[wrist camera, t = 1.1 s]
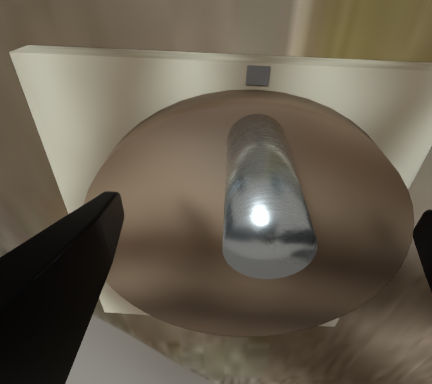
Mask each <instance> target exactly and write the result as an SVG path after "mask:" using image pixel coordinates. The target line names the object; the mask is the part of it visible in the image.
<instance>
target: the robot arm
mask: <svg viewBox="0 0 432 384" xmlns="http://www.w3.org/2000/svg"><path fill="white" fill-rule="evenodd" d="M123 222H124V209H123V204H122V200H121V195H120V193H118V192H114V191H105V192H103V193H101V194H100V195H98V196H96V197H95V198H93V199H92V200H90V201H89V202H87V203H85V204H84V205H82V206H81V207H79V208H78V209H76V210H74V211H73V212H71V213H70V214H68V215H67V216H65V217H63V218H62V219H60V220H59V221H57V222H56V223H54V224H52V225H51V226H49V227H48V228H46V229H45V230H43V231H41V232H40V233H38V234H37V235H35V236H34V237H32V238H30V239H29V240H27V241H26V242H24V243H22V244H21V245H19V246H18V247H16V248H15V249H13V250H11V251H10V252H8V253H7V254H5V255H4V256H2V257H0V384H65V382H66V380H67V378H68V375H69V372H70V370H71V367H72V365H73V362H74V360H75V357H76V355H77V352H78V350H79V347H80V345H81V342H82V340H83V337H84V334H85V332H86V330H87V327H88V325H89V322H90V319H91V317H92V314H93V312H94V309H95V307H96V304H97V302H98V299H99V297H100V294H101V292H102V289H103V287H104V284H105V282H106V279H107V276H108V274H109V271H110V269H111V266H112V263H113V260H114V256H115V252H116V248H117V245H118V241H119V237H120V233H121V229H122V226H123ZM413 239H414V242H415V245H416V248H417V251H418V254H419V257H420V260H421V264H422V267H423V270H424V273H425V276H426V279H427V281H428V284H429V287H430V289H431V291H432V210H427V211H425V212H424V213H423V215H422V216H421V218H420V220H419V221H418V223H417V225H416V226H415V228H414V230H413Z"/></svg>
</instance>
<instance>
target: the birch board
mask: <svg viewBox="0 0 432 384" xmlns="http://www.w3.org/2000/svg"><path fill="white" fill-rule="evenodd" d="M9 53H10V56H11V59H12V61H13V64H14V67H15V69H16V72H17V75H18V78H19V80H20V83H21V86H22V88H23V91H24V94H25V97H26V99H27V102H28V105H29V108H30V110H31V113H32V116H33V118H34V121H35V124H36V127H37V129H38V132H39V135H40V137H41V140H42V143H43V146H44V148H45V151H46V154H47V157H48V159H49V162H50V165H51V167H52V170H53V173H54V176H55V178H56V181H57V184H58V186H59V189H60V192H61V195H62V197H63V200H64V203H65V206H66V208H67V211H68V214H70V213H71V212H73V211H74V210H76V209H78V208H79V207H81V206H82V205H83V204H84V201H85V198H86V195H87V192H88V189H89V187H90V185H91V183H92V182H93V180H94V178H95V176H96V174H97V173H98V171H99V170H100V168H101V167H102V165H103V164H104V162H105V161H106V159H107V158H108V156H109V155H110V153H111V152H112V150H113V149H114V148H115V147H116V146H117V144H118V143H119V142H120V141H121V139H122V138H123V137H124V136H125V135H126V134H127V133H128V132H130V131H131V130H132V129H133V128H134V127H135V126H136V125H138V124H139V123H140V122H142V121H143V120H145V119H146V118H148V117H149V116H151V115H153V114H154V113H156V112H157V111H159V110H161V109H164V108H166V107H168V106H170V105H172V104H175V103H177V102H179V101H182V100H185V99H189V98H192V97H196V96H199V95H203V94H207V93H214V92H221V91H227V90H266V91H274V92H283V93H287V94H291V95H295V96H299V97H303V98H307V99H310V100H312V101H315V102H317V103H320V104H322V105H325V106H327V107H329V108H332V109H333V110H335V111H337V112H338V113H340V114H342V115H343V116H345V117H347V118H348V119H350V120H351V121H353V122H354V123H355V124H356V125H357V126H359V127H360V128H361V129H362V130H363V131H364V132H366V133H367V134H368V135H369V136H370V138H371V139H372V140H373V141H374V142H375V144H376V145H377V146H378V147H379V148H380V150H381V151H382V152H383V153H384V155H385V156H386V157H387V158H388V160H389V161H390V162H391V163H392V165H393V166H394V167H395V168H396V170H397V171H398V172H399V174H400V176H401V178H402V179H403V181H404V183H405V185H406V187H407V189H409V187H410V185H411V183H412V182H413V180H414V178H415V176H416V174H417V172H418V170H419V169H420V167H421V165H422V163H423V161H424V159H425V157H426V155H427V154H428V152H429V150H430V148H431V146H432V63H425V62H402V61H379V60H357V59H334V58H311V57H288V56H266V55H243V54H220V53H197V52H174V51H152V50H129V49H106V48H83V47H61V46H38V45H27V46H24V47H22V48H19V49H16V50H14V51H11V52H9ZM99 298H100V301H101V304H102V306H103V309H104V312H110V313H125V314H141V315H149V314H147V313H145V312H143V311H142V310H140V309H138V308H137V307H135V306H133V305H132V304H130V303H129V302H128V301H126V300H125V299H124V298H122V297H121V296H120V295H119V294H118V293H116V292H115V291H114V290H113V289H112V288H111V287H110V286H109V285H108V284H107V283H106V282H105V284H104V287H103V289H102V292H101V294H100V297H99ZM339 318H340V317H339ZM339 318H337V319H335V320H332V321H330V322H327V323H325V324H322V325H319V326H329V327H335V326H336V324H337V322H338V320H339Z"/></svg>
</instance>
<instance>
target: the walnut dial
mask: <svg viewBox="0 0 432 384" xmlns="http://www.w3.org/2000/svg"><path fill="white" fill-rule="evenodd" d="M105 191H114V192H118V193H120V195H121V200H122V204H123V209H124V222H123V226H122V229H121V233H120V237H119V241H118V245H117V248H116V252H115V256H114V260H113V263H112V266H111V269H110V271H109V274H108V276H107V279H106V283H107V284H108V285H109V286H110V287H111V288H112V289H113V290H114V291H115V292H116V293H118V294H119V295H120V296H121V297H122V298H124V299H125V300H126V301H128V302H129V303H130V304H132V305H133V306H135V307H137V308H138V309H140V310H142V311H143V312H145V313H147V314H149V315H151V316H153V317H155V318H157V319H160V320H162V321H165V322H167V323H170V324H172V325H175V326H179V327H182V328H185V329H189V330H193V331H197V332H202V333H208V334H214V335H223V336H236V337H258V336H271V335H280V334H286V333H292V332H297V331H301V330H305V329H309V328H312V327H315V326H319V325H322V324H325V323H327V322H330V321H332V320H335V319H337V318H339V317H341V316H343V315H345V314H347V313H349V312H351V311H353V310H355V309H356V308H358V307H359V306H361V305H362V304H364V303H366V302H367V301H368V300H370V299H371V298H372V297H373V296H375V295H376V294H377V293H378V292H380V291H381V289H382V288H383V287H384V286H385V285H386V284H387V283H388V282H389V281H390V280H391V279H392V278H393V276H394V275H395V274H396V272H397V271H398V270H399V268H400V267H401V265H402V263H403V261H404V259H405V257H406V255H407V253H408V250H409V247H410V244H411V241H412V236H413V228H414V214H413V205H412V202H411V198H410V195H409V192H408V189H407V187H406V185H405V183H404V181H403V179H402V178H401V176H400V174H399V172H398V171H397V170H396V168H395V167H394V166H393V165H392V163H391V162H390V161H389V160H388V158H387V157H386V156H385V155H384V153H383V152H382V151H381V150H380V148H379V147H378V146H377V145H376V144H375V142H374V141H373V140H372V139H371V138H370V136H369V135H368V134H367V133H366V132H364V131H363V130H362V129H361V128H360V127H359V126H357V125H356V124H355V123H354V122H353V121H351V120H350V119H348V118H347V117H345V116H343V115H342V114H340V113H338V112H337V111H335V110H333V109H332V108H329V107H327V106H325V105H322V104H320V103H317V102H315V101H312V100H310V99H307V98H303V97H299V96H295V95H291V94H287V93H283V92H274V91H266V90H227V91H221V92H214V93H207V94H203V95H199V96H196V97H192V98H189V99H185V100H182V101H179V102H177V103H175V104H172V105H170V106H168V107H166V108H164V109H161V110H159V111H157V112H156V113H154V114H153V115H151V116H149V117H148V118H146V119H145V120H143V121H142V122H140V123H139V124H138V125H136V126H135V127H134V128H133V129H132V130H131V131H130V132H128V133H127V134H126V135H125V136H124V137H123V138H122V139H121V141H120V142H119V143H118V144H117V146H116V147H115V148H114V149H113V150H112V152H111V153H110V155H109V156H108V158H107V159H106V161H105V162H104V164H103V165H102V167H101V168H100V170H99V171H98V173H97V174H96V176H95V178H94V180H93V182H92V183H91V185H90V187H89V189H88V192H87V195H86V198H85V201H84V204H85V203H87V202H89V201H90V200H92V199H93V198H95V197H96V196H98V195H100V194H101V193H103V192H105ZM84 204H83V205H84Z"/></svg>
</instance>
